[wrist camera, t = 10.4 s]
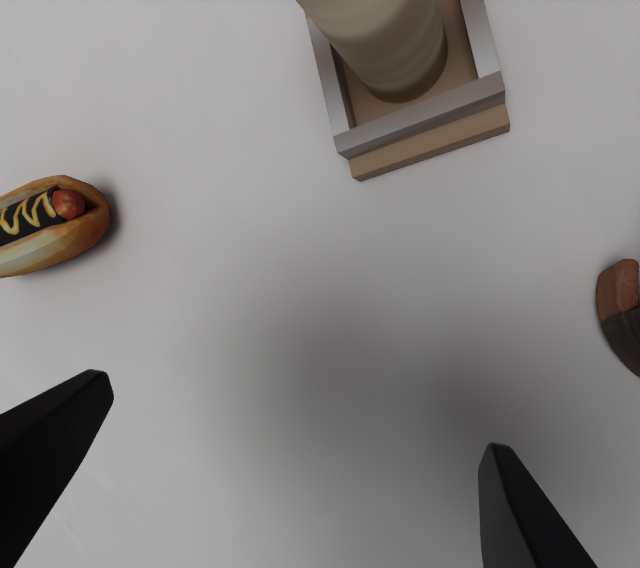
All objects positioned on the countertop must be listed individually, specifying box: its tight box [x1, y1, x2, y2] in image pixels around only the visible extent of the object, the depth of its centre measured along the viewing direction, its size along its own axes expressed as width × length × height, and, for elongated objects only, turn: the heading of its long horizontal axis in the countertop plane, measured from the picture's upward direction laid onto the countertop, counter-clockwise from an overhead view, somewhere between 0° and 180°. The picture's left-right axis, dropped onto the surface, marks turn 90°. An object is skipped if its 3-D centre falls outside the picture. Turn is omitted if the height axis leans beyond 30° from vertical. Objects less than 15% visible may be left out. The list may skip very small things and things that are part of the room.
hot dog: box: [0, 175, 110, 278], centre depth 29 cm, size 5×13×5 cm, turn 103°
